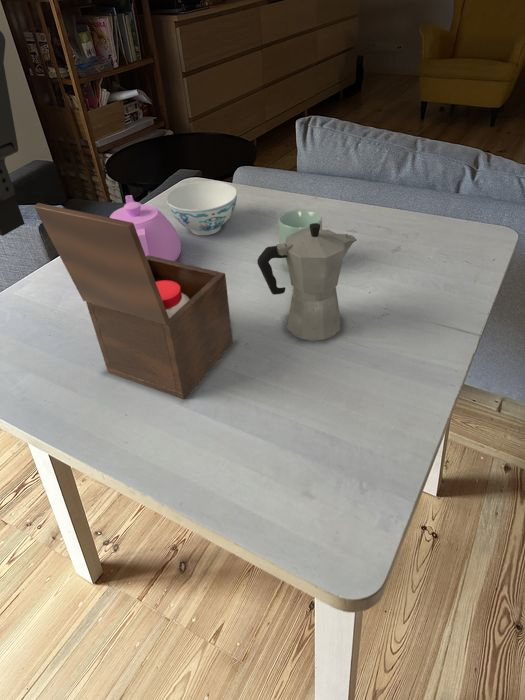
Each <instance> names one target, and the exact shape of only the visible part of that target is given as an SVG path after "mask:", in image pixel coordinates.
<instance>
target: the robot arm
mask: <svg viewBox="0 0 525 700" xmlns="http://www.w3.org/2000/svg"><path fill="white" fill-rule="evenodd" d="M5 51H6V38H5V35H4V33H3V32H2V30H0V236H2V237H4V236H6V235H7V234H9V233H11V232H13V231H15V230H17V229H18V228H20V227H22V226H24V225H25V220H24V218H23V215H22V212H21V210H20V207H19V203H18V201H17V198H16V196H15V195H16V192H15V188H14V184H13V182H12V179H11V176H10V173H9V170H8V168H7V165H6V158H8V157H10V156H12V155H14V154H16V153H18V152H19V145H18V138H17V131H16V127H15V122H14V117H13V116H14V115H13V109H12V105H11V99H10V93H9V87H8V81H7V75H6V70H5V69H6V68H5V53H6V52H5Z"/></svg>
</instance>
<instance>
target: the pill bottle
mask: <svg viewBox="0 0 525 700" xmlns="http://www.w3.org/2000/svg"><path fill="white" fill-rule="evenodd" d="M156 285H157V287H158V290H159V293H160V295H161V298H162V301H163V304H164V306H165V309H166V312H167V314H168V317H169V319H170V318H171V317H172V316H173V315H174V314H175V313H176V312H177V311H178V310H179V309H180V308H181V307H182V306H184V305H185V304H186V303H187V302H188V301H189V300H190V299H189V297H188V296H187V295H185V294H184V293H182V292H181V288H180V285H179V284H178V283H176V282H174V281H169V280H162V281H156Z"/></svg>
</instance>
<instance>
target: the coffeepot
mask: <svg viewBox="0 0 525 700" xmlns="http://www.w3.org/2000/svg"><path fill="white" fill-rule="evenodd" d="M355 242H357V238H356V237H355V236H354V235H352V234H348V233H336V232H334V231H332V230H330V229H322V230H320V224H318V223H312V224H310V229H304V230H302V231H299V232H297V233H295V234H292V235H290V236H287V237H286V242H285V243H283V244H279V243H278V244H275V245H271V246H266V247H265V249H264V250H263V251H262V252H261V254H260V255H259V256H258V258H257V266H258V268H259V270H260V271H261V274H262V276H263V278H264V280H265V282H266V284H267V286H268V289H269V291H270V293H271V294H272V295H281V294H282V295H283V294H284V293H285V292H286V287H285V286H283V287H278V286H277V285H278V284H277V278H276V277H275V275H274V273H273V268H272V265H271V264H270V261H271V260H272V259H282V258H286V259H287V265H288V268H287V269H288V275H289V280H290V285H291V286H292V293H291V298H290V306H289V311H288V319H287V326H286V330H287V331H288V332H289V333H291V334H292V335H293V336H294V337H296V338H297V339H299V340H300V339H301V340H304V341H310V342H319V341H324V340H328V339H330V338H332V337H334V336H335V335H336V334H337V333H339V332H340V331H341V313H340V306H339V300H338V293H337V287H338V282H339V280H340V274H341V268H342V264H343V260H344V257H345V256H346V254H347V253H348V251H349V249H350V248H351V247H352V245H353V244H354V243H355Z"/></svg>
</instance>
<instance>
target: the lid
mask: <svg viewBox="0 0 525 700" xmlns="http://www.w3.org/2000/svg"><path fill="white" fill-rule="evenodd" d="M33 208H34V210H35V212H36V214H37V216H38V217H39V220H40V222H41V223H42V225H43V227H44V229H45V231H46V233H47V235H48V237H49V238H50V240H51V242H52V244H53V247H54V248H55V250H56V252H57V254H58V255H59V257H60V259H61V261H62V263H63V265H64V267H65V269H66V271H67V273H68V274H69V276H70V278H71V280H72V282H73V284H74V286H75V288H76V290H77V292H78V294H79V295H80V297H81V299H82V301H83V302H85V303H86V302H89V303H93V304H96V305H99V306H103V307H106V308H110V309H113V310H117V311H120V312H123V313H127V314H130V315H134V316H137V317H140V318H144V319H147V320H151V321H154V322H157V323H161V324H164V325H167V324H168V323H169V322H170V320H169V317H168V314H167V312H166V309H165V306H164V304H163V301H162V298H161V295H160V293H159V290H158V287H157V285H156V282H155V279H154V277H153V274H152V271H151V269H150V266H149V263H148V261H147V258H146V255H145V253H144V250H143V247H142V245H141V242H140V239H139V237H138V234H137V231H136V229H135V226H134V223H132V222H127V221H122V220H118V219H113V218H110V217H107V216H104V215H98V214H93V213H89V212H85V211H84V212H83V211H79V210H74V209H70V208H65V207H60V206H54V205H51V204H46V203H41V202H37V203H36V204H35V205H34V206H33Z"/></svg>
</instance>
